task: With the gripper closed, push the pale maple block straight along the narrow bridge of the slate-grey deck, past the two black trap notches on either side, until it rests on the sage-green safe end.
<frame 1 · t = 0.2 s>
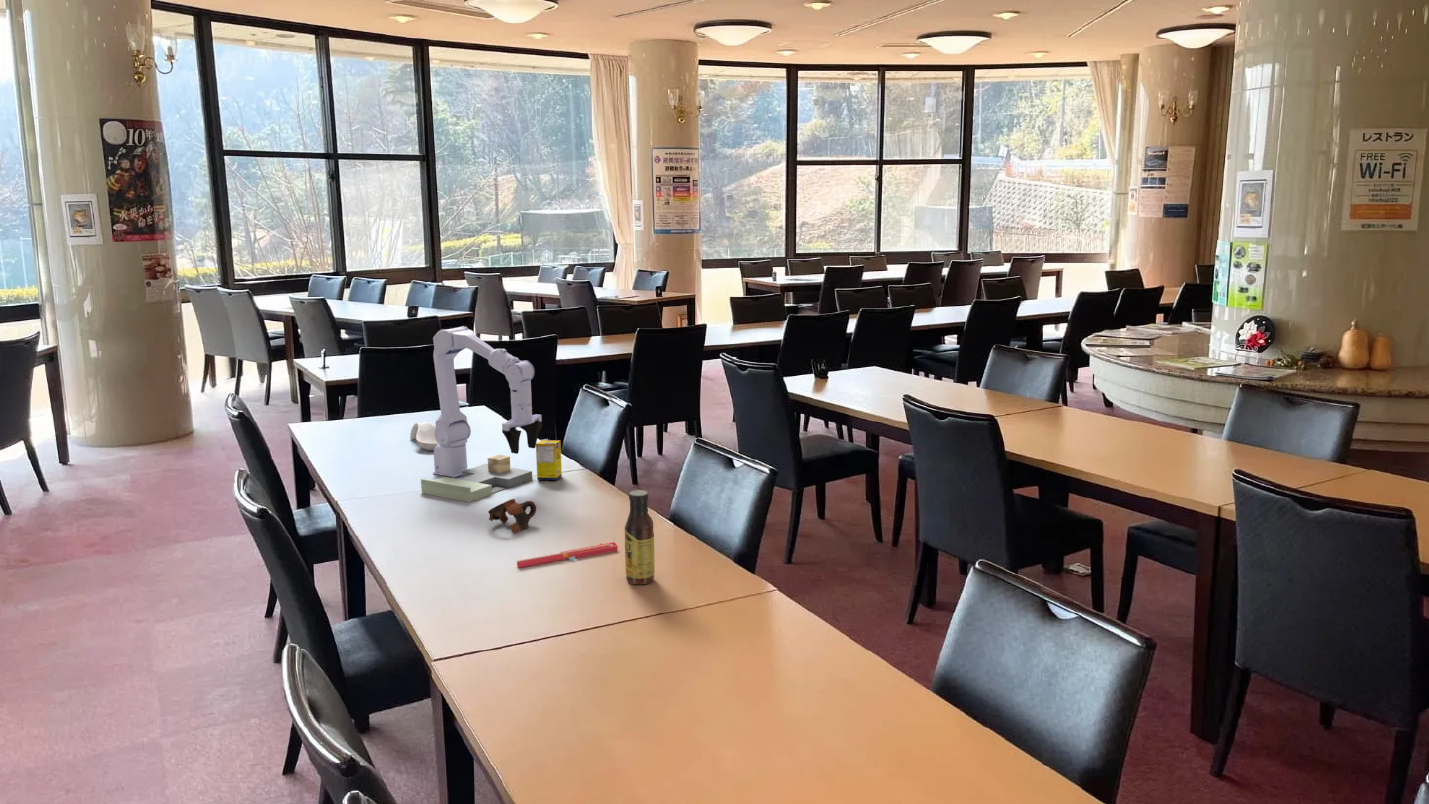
hand: (523, 450, 291), 10 cm above the table, tool pointing down, fingers open, 7 cm apart
pottery mug: (514, 527, 255), on the table
spoon rest: (428, 446, 341), on the table
supplement box: (549, 478, 298), on the table
sauce bottle: (640, 581, 217), on the table
maple block: (499, 470, 298), point 2 cm above the table, touching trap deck
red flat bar: (568, 561, 231), on the table
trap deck: (478, 485, 291), on the table
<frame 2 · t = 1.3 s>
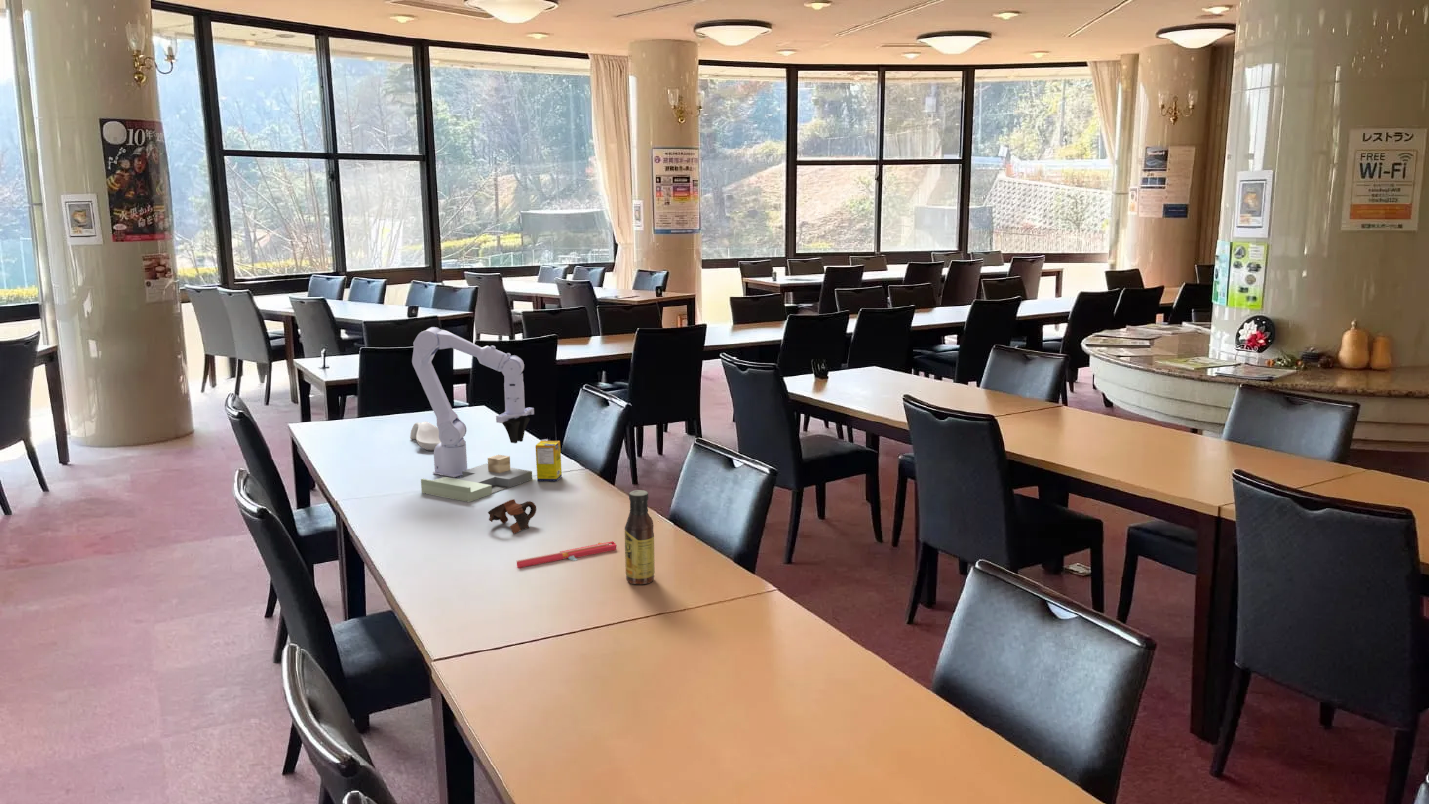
hand: (516, 441, 304), 9 cm above the table, tool pointing down, fingers closed
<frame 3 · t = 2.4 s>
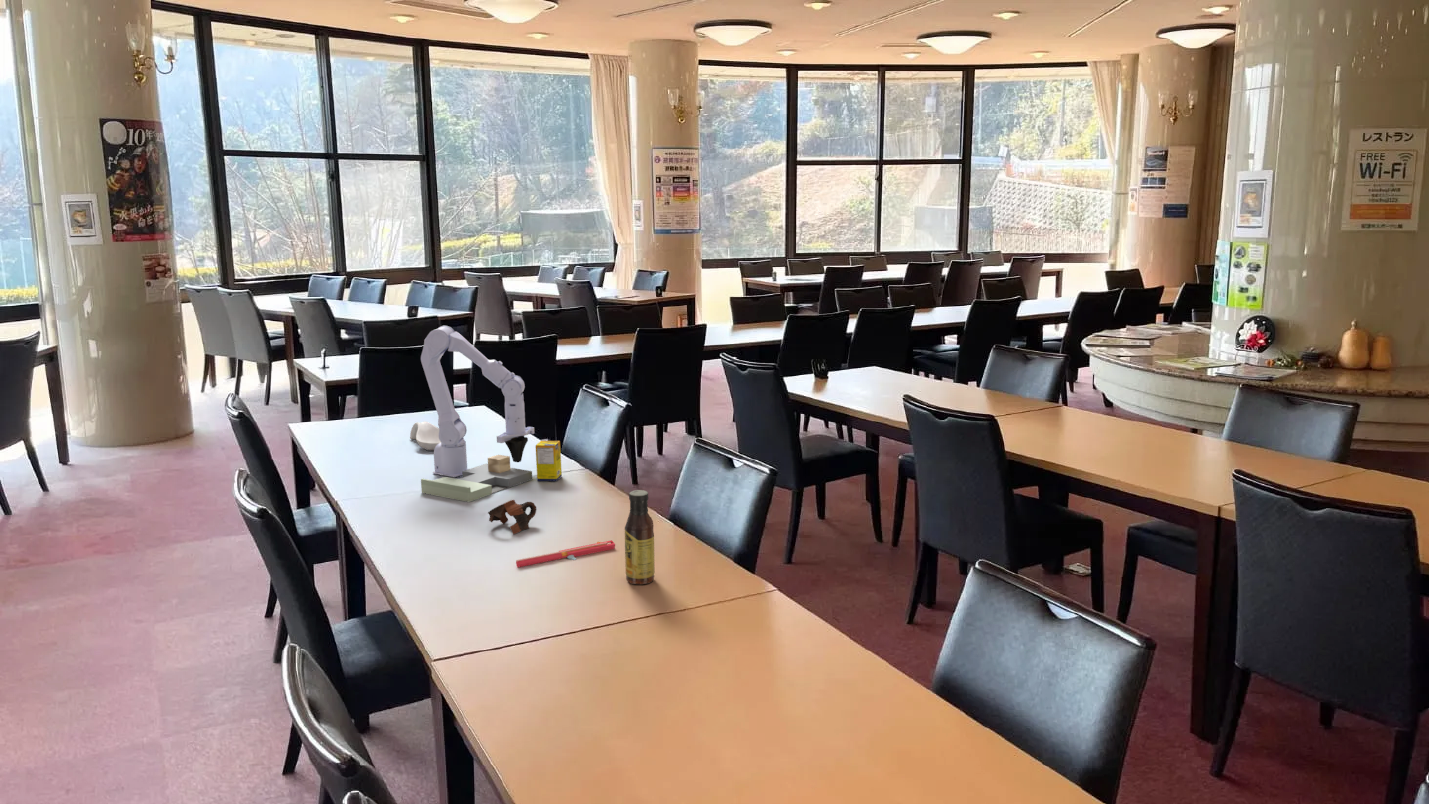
hand: (517, 461, 305), 3 cm above the table, tool pointing down, fingers closed
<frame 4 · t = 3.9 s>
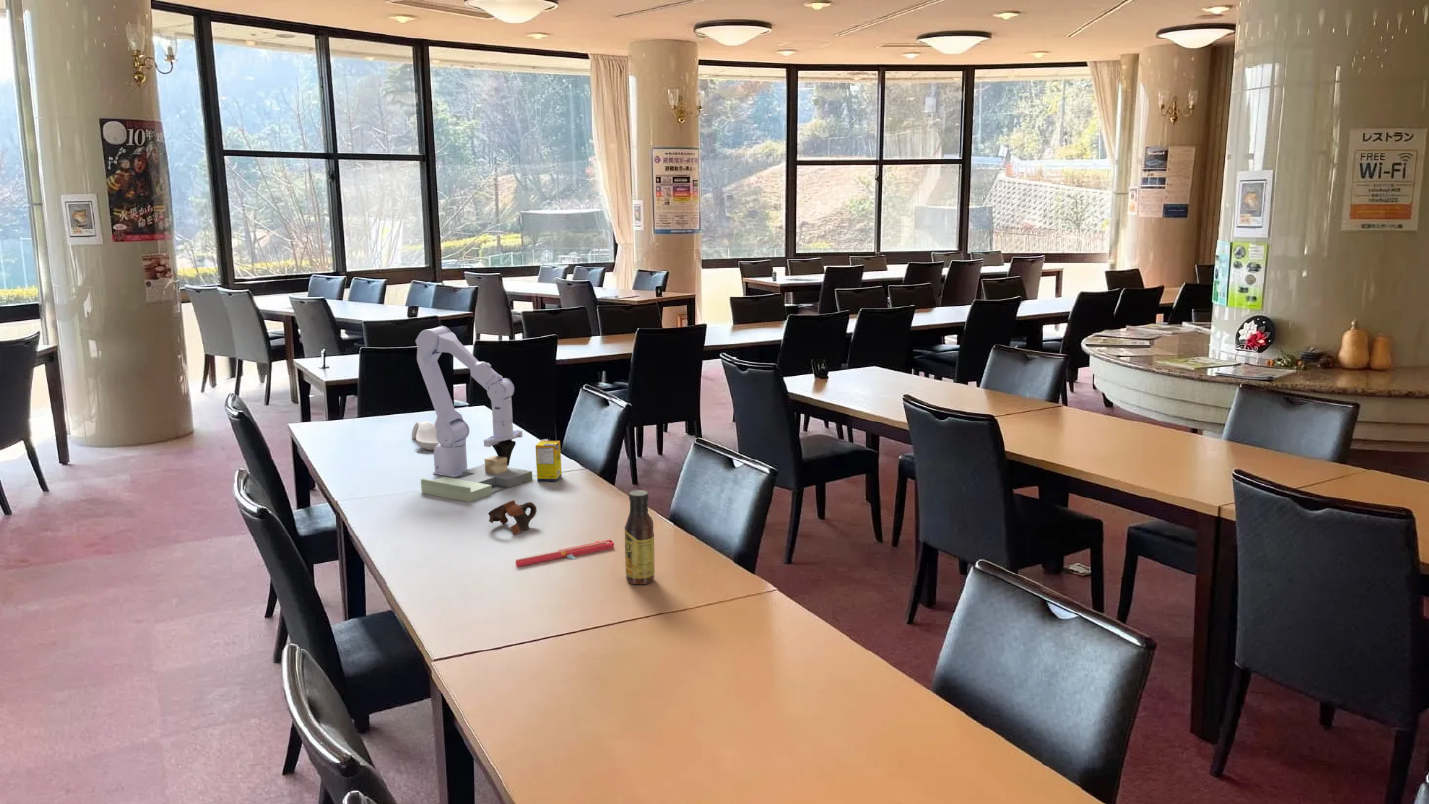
hand: (504, 465, 300), 3 cm above the table, tool pointing down, fingers closed
maple block: (496, 471, 297), point 3 cm above the table, touching gripper, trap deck
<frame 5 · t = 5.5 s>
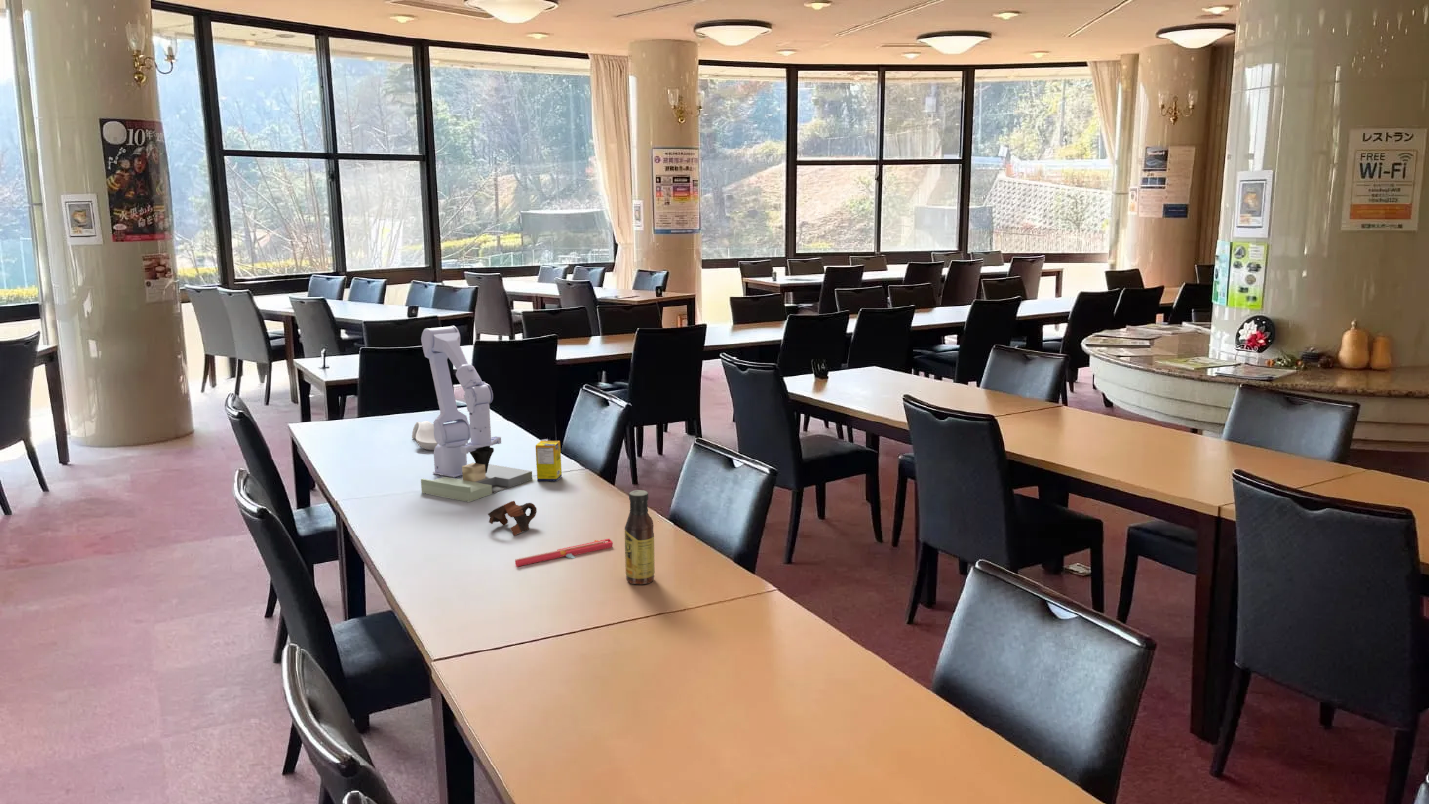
hand: (482, 472, 292), 3 cm above the table, tool pointing down, fingers closed
maple block: (474, 479, 289), point 3 cm above the table, touching gripper, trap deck
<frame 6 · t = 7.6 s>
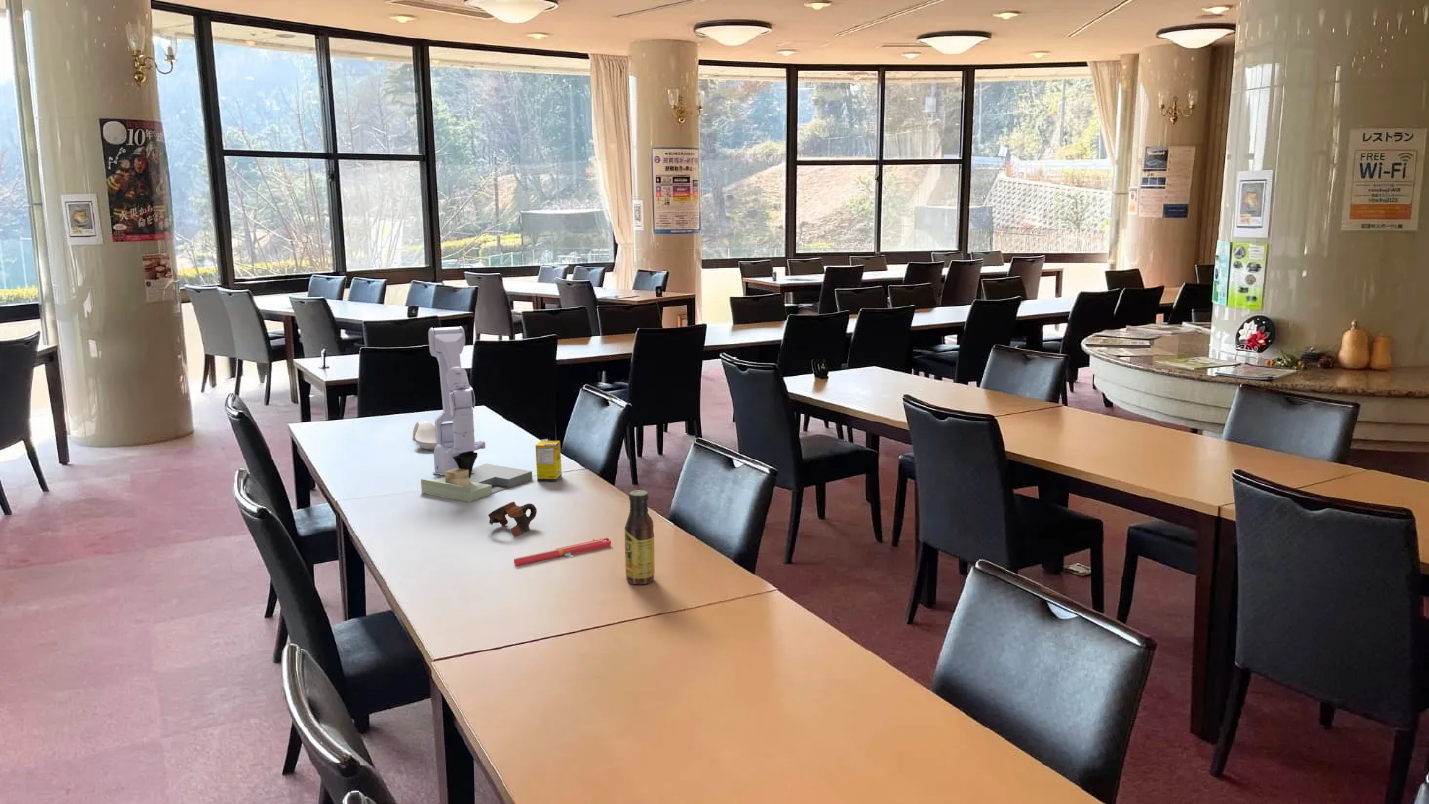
hand: (466, 478, 287), 3 cm above the table, tool pointing down, fingers closed
maple block: (457, 484, 284), point 2 cm above the table, touching gripper, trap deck
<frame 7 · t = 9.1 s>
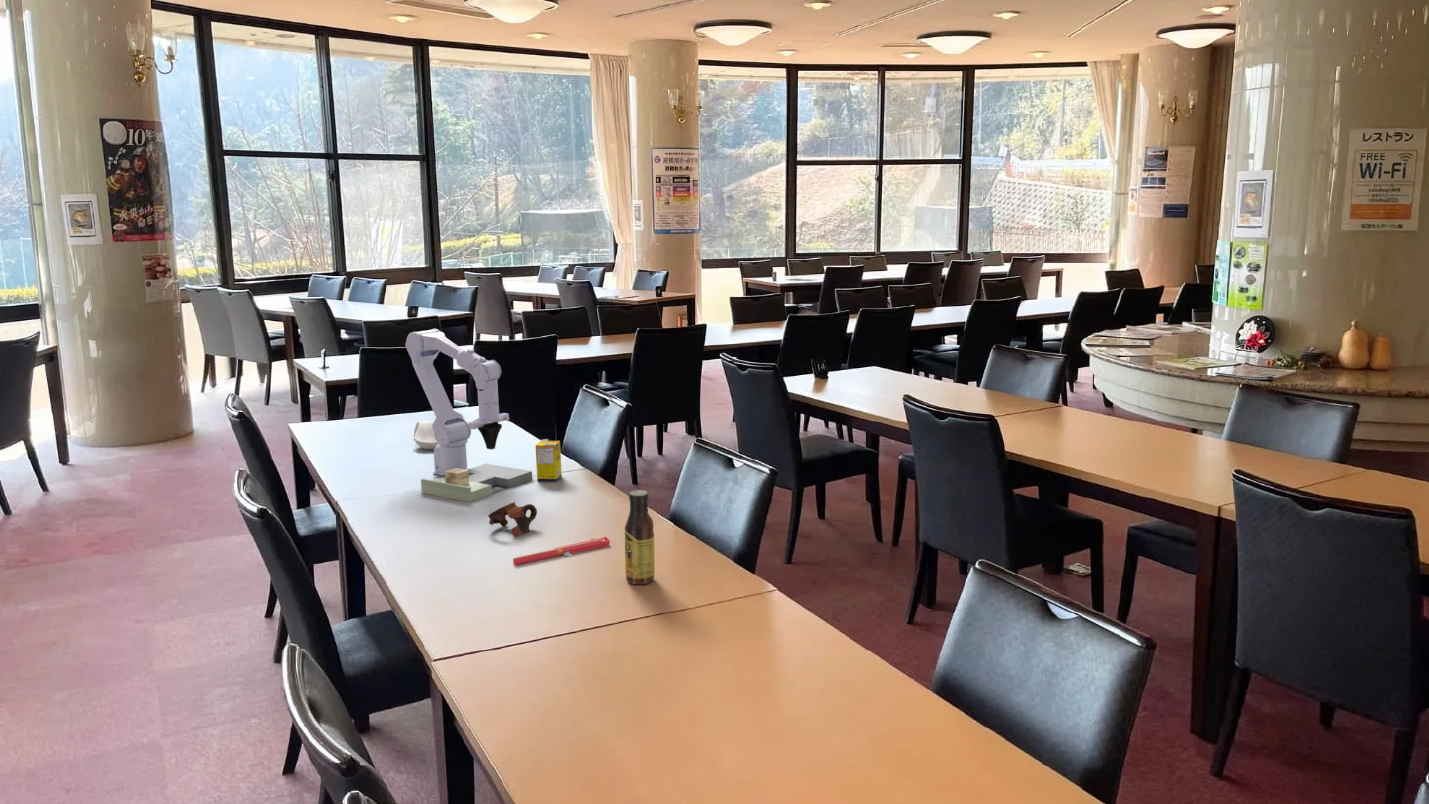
hand: (490, 448, 296), 9 cm above the table, tool pointing down, fingers closed
maple block: (457, 484, 284), point 2 cm above the table, touching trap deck
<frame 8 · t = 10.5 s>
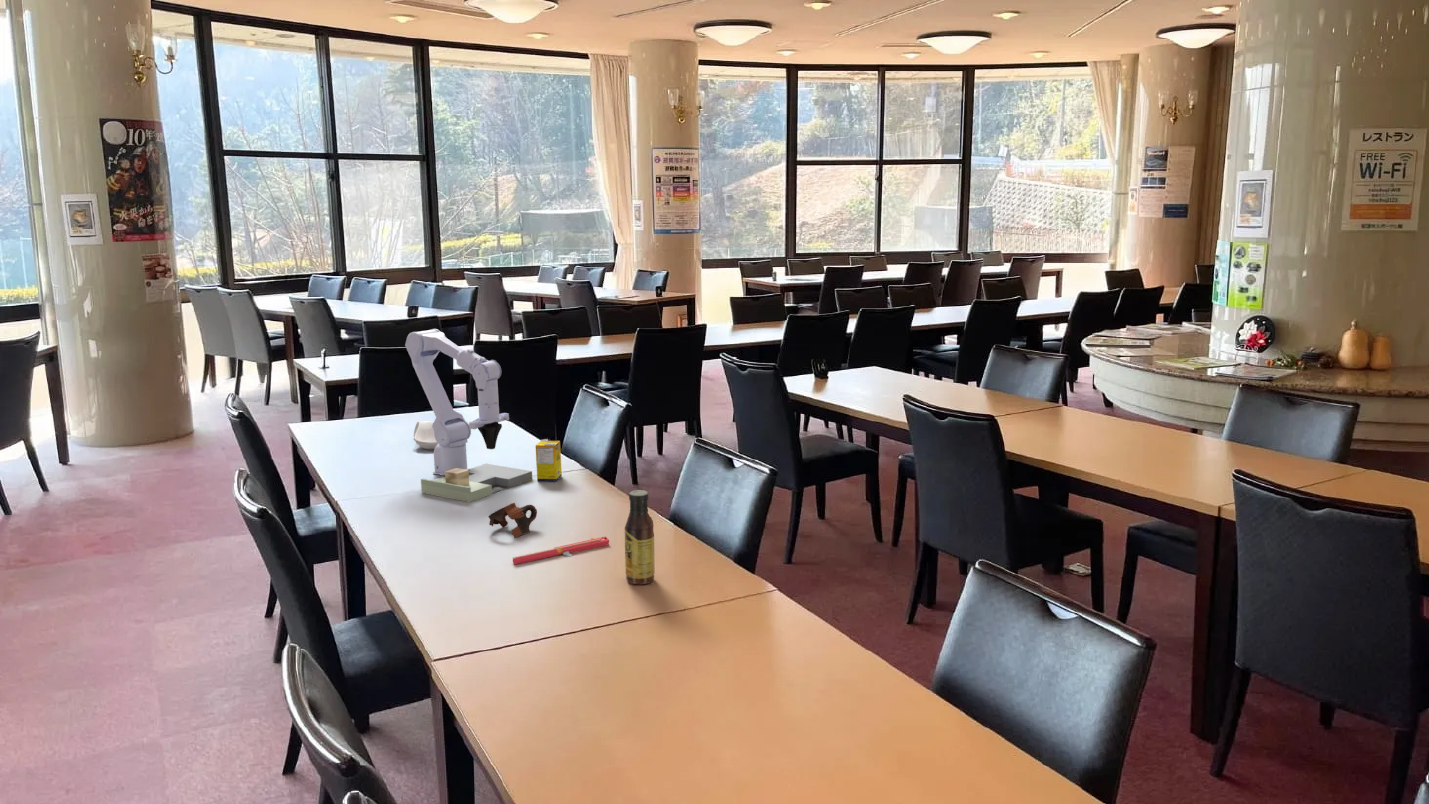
hand: (490, 448, 296), 9 cm above the table, tool pointing down, fingers closed
at the end: maple block inside the target area (0.4 cm from its centre), point 2.5 cm above the table; maple block tilted 0° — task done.
